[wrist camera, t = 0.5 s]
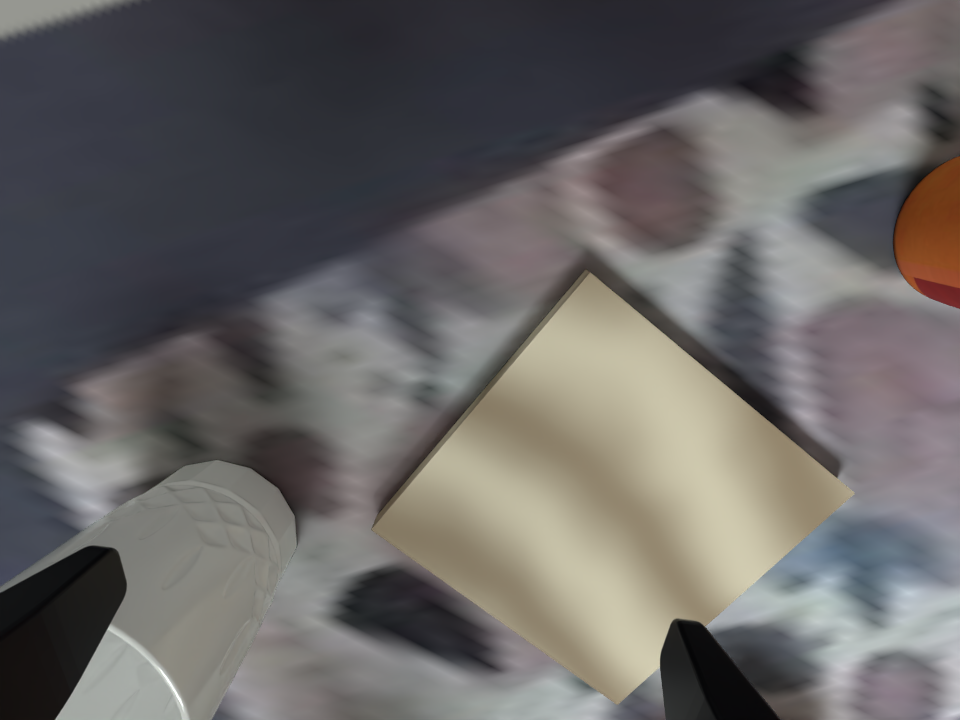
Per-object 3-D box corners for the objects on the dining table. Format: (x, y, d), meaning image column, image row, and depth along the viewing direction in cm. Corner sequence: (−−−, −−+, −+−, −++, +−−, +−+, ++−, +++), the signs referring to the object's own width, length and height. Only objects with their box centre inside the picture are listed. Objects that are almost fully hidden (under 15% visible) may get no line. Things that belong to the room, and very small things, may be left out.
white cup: (172, 416, 24) (-51, 554, 14) (338, 494, 25) (229, 676, 15) (120, 556, 26) (-107, 759, 16) (274, 625, 27) (142, 859, 17)
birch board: (612, 683, 27) (617, 704, 25) (377, 515, 25) (371, 529, 24) (837, 479, 23) (855, 493, 22) (585, 269, 22) (590, 272, 20)
